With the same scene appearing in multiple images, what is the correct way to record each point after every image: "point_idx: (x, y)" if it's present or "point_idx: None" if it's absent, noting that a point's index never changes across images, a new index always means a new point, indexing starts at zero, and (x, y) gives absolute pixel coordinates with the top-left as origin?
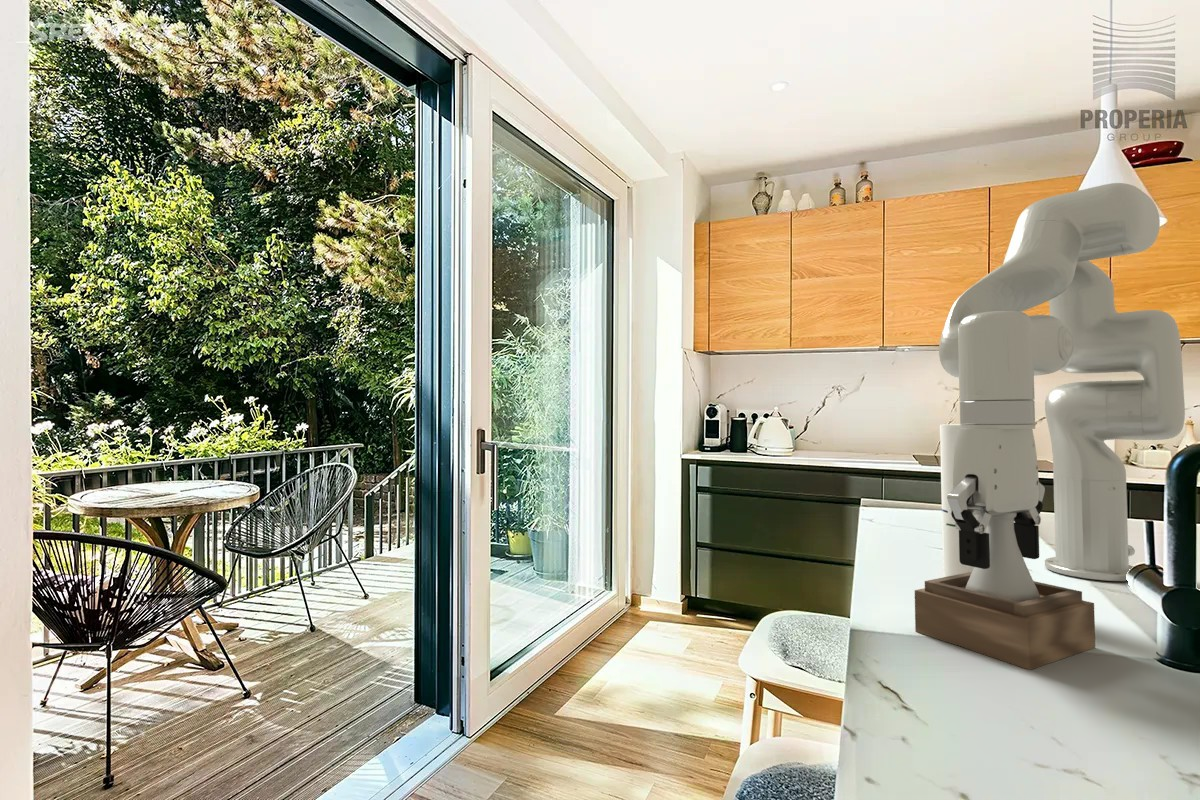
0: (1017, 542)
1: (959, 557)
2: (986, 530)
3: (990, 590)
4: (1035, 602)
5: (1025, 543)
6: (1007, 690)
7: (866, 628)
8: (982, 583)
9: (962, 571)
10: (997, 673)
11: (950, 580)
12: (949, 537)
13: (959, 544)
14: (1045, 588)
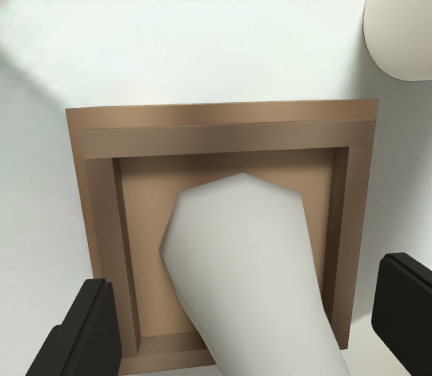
0: (409, 312)
1: (82, 287)
2: (252, 372)
3: (170, 275)
4: (170, 367)
5: (406, 338)
6: (26, 335)
7: (2, 34)
8: (170, 262)
9: (429, 7)
10: (67, 296)
11: (178, 153)
12: None
13: (61, 327)
14: (331, 291)
